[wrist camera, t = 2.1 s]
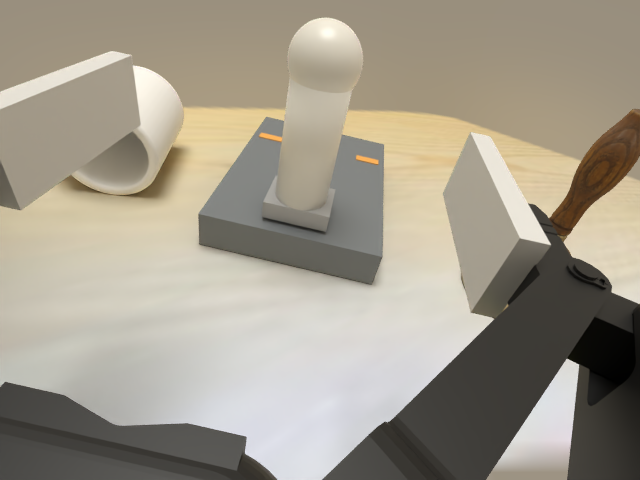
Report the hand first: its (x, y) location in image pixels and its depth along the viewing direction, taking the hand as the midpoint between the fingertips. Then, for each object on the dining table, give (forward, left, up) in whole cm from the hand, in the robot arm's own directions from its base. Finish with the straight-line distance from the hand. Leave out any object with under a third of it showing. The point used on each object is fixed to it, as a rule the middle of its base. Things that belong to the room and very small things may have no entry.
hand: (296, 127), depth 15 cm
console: (0, +17, -14) cm, 23 cm away
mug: (-19, +15, -15) cm, 29 cm away
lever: (0, +10, -11) cm, 15 cm away
